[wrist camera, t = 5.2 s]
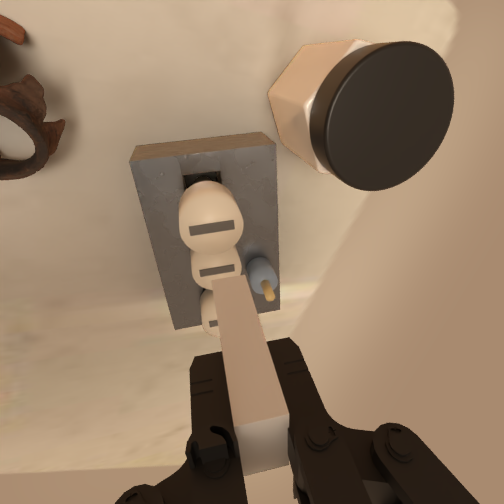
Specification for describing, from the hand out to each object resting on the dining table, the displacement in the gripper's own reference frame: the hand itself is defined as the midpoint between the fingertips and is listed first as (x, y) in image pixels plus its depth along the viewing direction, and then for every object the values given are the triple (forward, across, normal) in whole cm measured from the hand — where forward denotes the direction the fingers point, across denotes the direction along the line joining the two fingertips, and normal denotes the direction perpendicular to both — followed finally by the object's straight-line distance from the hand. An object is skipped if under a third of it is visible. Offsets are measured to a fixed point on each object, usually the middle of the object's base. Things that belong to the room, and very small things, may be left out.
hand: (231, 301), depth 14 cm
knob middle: (+18, 0, -5) cm, 19 cm away
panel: (+18, 0, -5) cm, 19 cm away
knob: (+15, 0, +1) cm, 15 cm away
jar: (+19, +11, +6) cm, 22 cm away
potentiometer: (+13, +4, -8) cm, 16 cm away
